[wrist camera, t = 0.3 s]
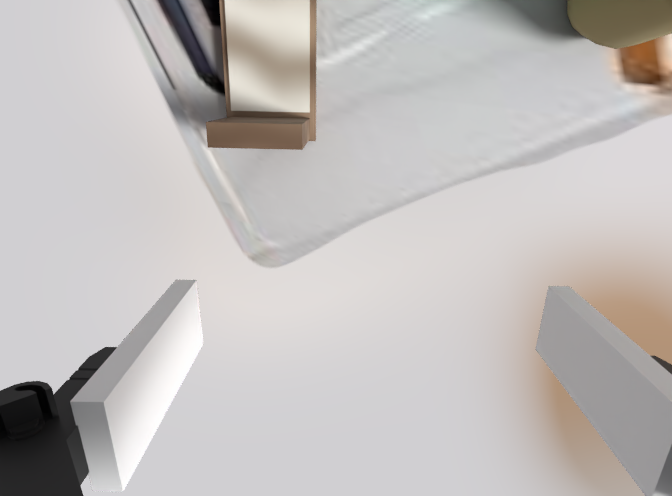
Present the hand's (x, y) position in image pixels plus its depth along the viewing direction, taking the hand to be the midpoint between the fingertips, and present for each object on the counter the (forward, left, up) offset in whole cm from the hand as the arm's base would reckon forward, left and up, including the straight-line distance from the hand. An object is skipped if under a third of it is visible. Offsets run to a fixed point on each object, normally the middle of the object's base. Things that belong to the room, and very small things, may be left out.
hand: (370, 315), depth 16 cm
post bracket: (-11, -8, -27) cm, 30 cm away
